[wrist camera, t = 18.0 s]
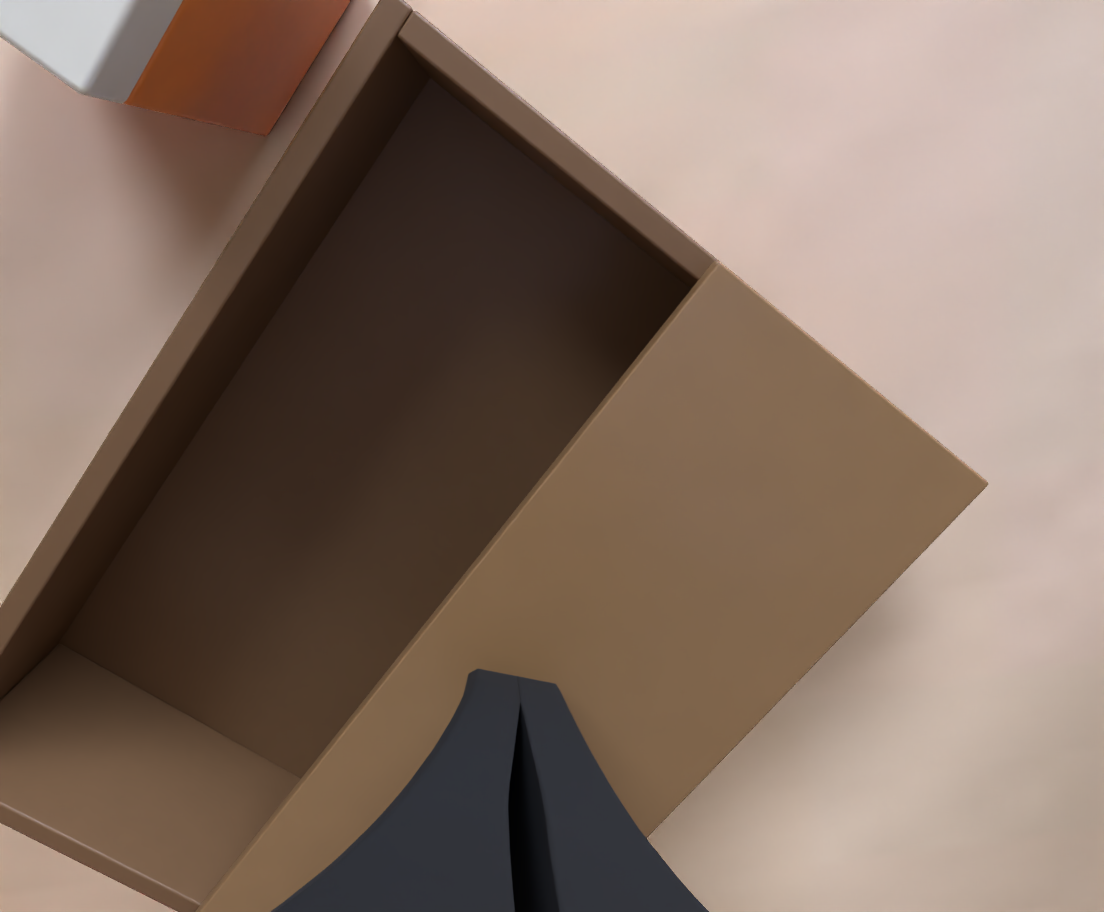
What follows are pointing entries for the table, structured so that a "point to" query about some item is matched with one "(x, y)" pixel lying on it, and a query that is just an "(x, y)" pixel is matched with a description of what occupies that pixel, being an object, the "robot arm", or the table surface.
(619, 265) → the carton
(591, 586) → the flap
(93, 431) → the table surface
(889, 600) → the table surface
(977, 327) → the table surface
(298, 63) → the tea packet
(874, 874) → the table surface
